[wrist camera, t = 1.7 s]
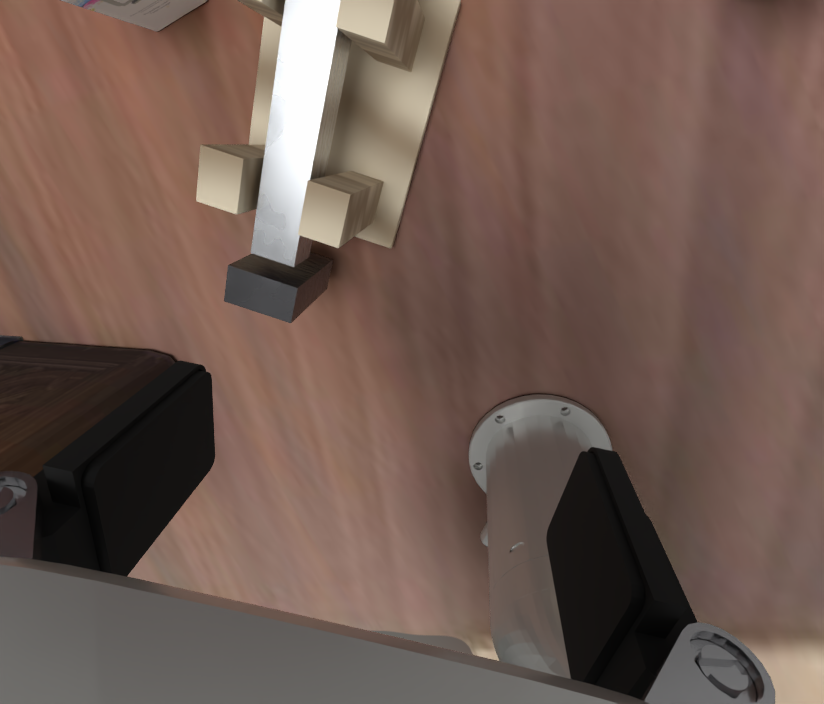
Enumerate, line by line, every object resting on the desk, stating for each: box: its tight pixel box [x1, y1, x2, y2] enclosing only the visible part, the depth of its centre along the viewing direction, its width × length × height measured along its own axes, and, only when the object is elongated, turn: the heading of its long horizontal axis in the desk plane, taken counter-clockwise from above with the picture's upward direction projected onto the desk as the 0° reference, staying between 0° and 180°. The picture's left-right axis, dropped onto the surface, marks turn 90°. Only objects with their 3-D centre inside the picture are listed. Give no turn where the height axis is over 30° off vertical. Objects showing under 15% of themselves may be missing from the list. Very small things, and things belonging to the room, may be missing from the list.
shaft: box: [224, 0, 352, 323], centre depth 27 cm, size 23×4×8 cm, turn 163°
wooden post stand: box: [196, 0, 461, 248], centre depth 27 cm, size 16×12×10 cm
